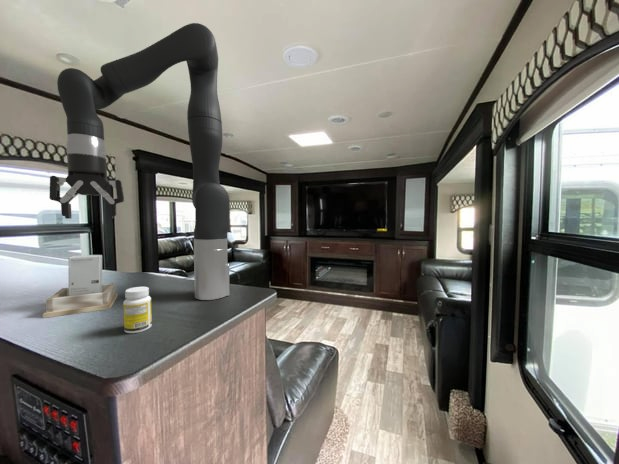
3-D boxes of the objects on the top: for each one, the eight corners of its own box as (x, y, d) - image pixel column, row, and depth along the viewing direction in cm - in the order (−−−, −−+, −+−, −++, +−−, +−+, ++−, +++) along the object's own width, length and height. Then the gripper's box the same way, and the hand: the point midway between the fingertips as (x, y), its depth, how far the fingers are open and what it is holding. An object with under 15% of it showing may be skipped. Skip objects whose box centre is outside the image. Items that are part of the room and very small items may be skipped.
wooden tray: (117, 295, 72) (117, 282, 72) (110, 308, 62) (109, 293, 62) (61, 302, 66) (60, 288, 66) (42, 318, 56) (42, 300, 55)
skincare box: (68, 306, 60) (66, 257, 60) (73, 301, 64) (71, 255, 64) (100, 302, 64) (99, 256, 63) (103, 297, 67) (102, 253, 67)
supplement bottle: (135, 323, 53) (134, 285, 53) (156, 324, 53) (156, 286, 53) (117, 333, 49) (116, 292, 48) (141, 334, 48) (140, 292, 48)
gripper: (123, 162, 70) (125, 218, 71) (54, 155, 63) (57, 218, 64) (119, 156, 64) (122, 218, 65) (42, 148, 56) (46, 218, 57)
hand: (90, 218), depth 64 cm, fingers open, 8 cm apart
